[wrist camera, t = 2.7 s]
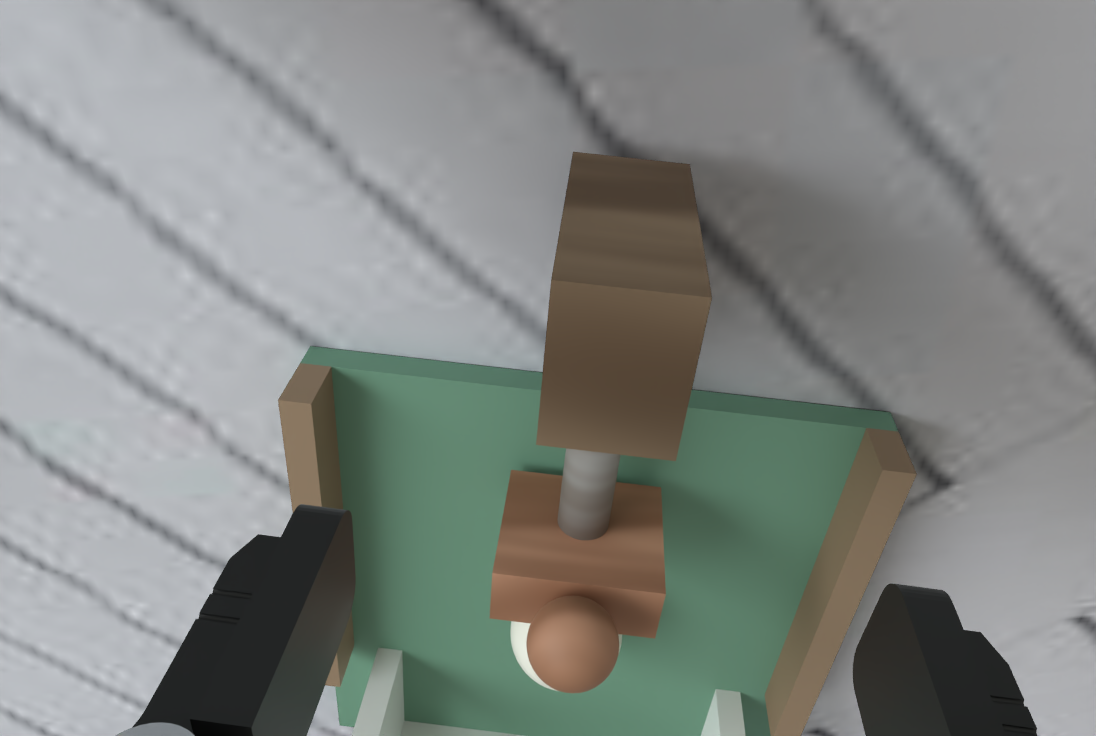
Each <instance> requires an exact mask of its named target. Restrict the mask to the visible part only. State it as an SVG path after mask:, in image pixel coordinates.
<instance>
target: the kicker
mask: <svg viewBox="0 0 1096 736" xmlns="http://www.w3.org/2000/svg"><path fill="white" fill-rule="evenodd" d="M711 300H712V295H711V289H710V283H709V277H708V271H707V265H706V259H705V253H704V247H703V241H702V235H701V229H700V223H699V217H698V211H697V204H696V198H695V192H694V186H693V180H692V174H691V168H690V164H682V163H673V162H664V161H654V160H645V159H636V158H627V157H617V156H608V155H599V154H589V153H580V152H573V156H572V162H571V168H570V174H569V180H568V185H567V191H566V197H565V203H564V209H563V215H562V221H561V226H560V232H559V238H558V244H557V250H556V256H555V261H554V267H553V273H552V279H551V289H550V300H549V310H548V321H547V332H546V343H545V353H544V364H543V375H542V386H541V396H540V407H539V418H538V429H537V439H536V445H541V446H549V447H558V448H566V452H565V460H564V469H563V476H561V475H552V474H543V473H535V472H526V471H518V470H511V473H510V479H509V484H508V490H507V495H506V501H505V506H504V512H503V517H502V523H501V528H500V534H499V539H498V545H497V550H496V555H495V561H494V566H493V572H492V586H491V602H490V619H498V620H506V621H514V622H523V623H531V624H530V627H529V629H528V634H527V642H526V647H527V654H528V658H529V662H530V664H531V666H532V668H533V670H534V672H535V673H536V674H537V676H538V677H539V678H540V679H541V680H542V681H543V682H544V683H545V684H547V685H548V686H550V687H551V688H553V689H555V690H557V691H560V692H565V693H582V692H586V691H589V690H591V689H593V688H595V687H597V686H598V685H600V684H601V683H602V682H603V681H605V679H606V678H607V677H608V676H609V675H610V673H611V672H612V670H613V668H614V666H615V664H616V661H617V658H618V654H619V636H618V634H621V635H630V636H638V637H646V638H654V639H655V637H656V633H657V629H658V624H659V620H660V616H661V612H662V608H663V604H664V600H665V595H666V587H665V564H664V541H663V518H662V496H661V487H655V486H646V485H637V484H629V483H620V482H616V479H617V473H618V467H619V461H620V455H627V456H635V457H644V458H653V459H661V460H670V461H676V458H677V454H678V449H679V445H680V440H681V436H682V431H683V427H684V422H685V418H686V413H687V408H688V404H689V399H690V395H691V390H692V386H693V381H694V377H695V372H696V368H697V363H698V359H699V354H700V350H701V345H702V341H703V336H704V331H705V327H706V322H707V318H708V313H709V309H710V304H711Z"/></svg>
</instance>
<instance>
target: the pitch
mask: <svg viewBox="0 0 1096 736" xmlns="http://www.w3.org/2000/svg"><path fill="white" fill-rule="evenodd" d="M542 375H543V373H541V372H532V371H523V370H514V369H506V368H497V367H488V366H479V365H470V364H462V363H453V362H444V361H435V360H427V359H418V358H409V357H400V356H392V355H383V354H374V353H365V352H356V351H348V350H339V349H330V348H321V347H313V346H310V348H309V349H308V351H307V353H306V354H305V356H304V358H303V359H302V361H301V363H300V364H299V366H298V368H297V369H296V371H295V373H294V374H293V376H292V378H291V379H290V381H289V383H288V384H287V386H286V388H285V389H284V391H283V393H282V394H281V396H280V398H279V399H278V403H279V411H280V418H281V426H282V434H283V441H284V449H285V456H286V464H287V472H288V479H289V487H290V495H291V502H292V510H293V513H294V511H295V509H296V508H297V507H298V506H299V505H300V504H305V505H312V506H320V507H327V508H335V509H343V510H349V511H350V512H351V515H352V523H353V540H354V558H355V575H356V584H355V594H354V600H353V605H352V610H351V614H350V617H349V620H348V623H347V626H346V629H345V632H344V634H343V637H342V640H341V642H340V645H339V648H338V651H337V653H336V656H335V659H334V662H333V664H332V667H331V670H330V673H329V675H328V678H327V681H326V684H325V685H328V686H336V696H337V705H338V714H339V723H340V725H342V726H350V727H354V730H353V733H352V736H801V734H802V732H803V729H804V727H805V725H806V723H807V720H808V718H809V716H810V714H811V711H812V709H813V707H814V705H815V702H816V700H817V698H818V696H819V693H820V691H821V689H822V686H823V684H824V682H825V680H826V677H827V675H828V673H829V671H830V668H831V666H832V664H833V662H834V659H835V657H836V655H837V653H838V650H839V648H840V646H841V644H842V641H843V639H844V637H845V635H846V632H847V630H848V628H849V626H850V623H851V621H852V619H853V617H854V614H855V612H856V610H857V608H858V605H859V603H860V601H861V599H862V596H863V594H864V592H865V590H866V587H867V585H868V583H869V581H870V578H871V576H872V574H873V572H874V569H875V567H876V565H877V563H878V560H879V558H880V556H881V553H882V551H883V549H884V547H885V544H886V542H887V540H888V538H889V535H890V533H891V531H892V529H893V526H894V524H895V522H896V520H897V517H898V515H899V513H900V511H901V508H902V506H903V504H904V502H905V499H906V497H907V495H908V493H909V490H910V488H911V486H912V484H913V481H914V479H915V477H916V475H917V473H916V471H915V469H914V467H913V464H912V462H911V460H910V457H909V455H908V453H907V450H906V448H905V446H904V443H903V441H902V439H901V436H900V434H899V432H898V429H897V427H896V425H895V422H894V420H893V418H892V415H891V413H890V412H883V411H874V410H865V409H856V408H847V407H839V406H830V405H821V404H812V403H804V402H795V401H786V400H777V399H769V398H760V397H751V396H742V395H733V394H725V393H716V392H707V391H698V390H691V395H690V399H689V404H688V408H687V413H686V418H685V422H684V427H683V431H682V436H681V440H680V445H679V449H678V454H677V458H676V461H670V460H661V459H653V458H644V457H635V456H627V455H620V461H619V467H618V473H617V479H616V482H620V483H629V484H637V485H646V486H655V487H661V496H662V518H663V541H664V564H665V587H666V595H665V600H664V604H663V608H662V612H661V616H660V620H659V624H658V629H657V633H656V637H655V639H654V638H646V637H638V636H630V635H622V644H621V648H620V652H619V655H618V658H617V661H616V664H615V666H614V668H613V670H612V672H611V673H610V675H609V676H608V677H607V678H606V679H605V681H603V682H602V683H601V684H600V685H598V686H597V687H595V688H593V689H591V690H589V691H586V692H582V693H565V692H560V691H555V690H551V689H548V688H546V687H543V686H542V685H540V684H538V683H537V682H535V681H534V680H532V679H531V678H530V677H529V676H528V675H527V674H526V673H525V672H524V671H523V669H522V668H521V666H520V665H519V663H518V661H517V659H516V657H515V655H514V652H513V648H512V644H511V636H510V630H511V621H506V620H498V619H490V602H491V586H492V572H493V566H494V561H495V555H496V550H497V545H498V539H499V534H500V528H501V523H502V517H503V512H504V506H505V501H506V495H507V490H508V484H509V479H510V473H511V470H518V471H526V472H535V473H543V474H552V475H561V476H563V469H564V460H565V452H566V448H558V447H549V446H541V445H536V439H537V429H538V418H539V407H540V396H541V386H542Z"/></svg>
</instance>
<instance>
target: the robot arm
mask: <svg viewBox="0 0 1096 736" xmlns="http://www.w3.org/2000/svg"><path fill="white" fill-rule="evenodd" d="M355 584H356V575H355V558H354V540H353V523H352V515H351V512H350V511H349V510H343V509H335V508H327V507H320V506H312V505H305V504H300V505H299V506H298V507H297V508H296V509H295V511H294V513H293V514H292V516H291V518H290V520H289V522H288V524H287V526H286V528H285V530H284V532H283V534H282V536H281V537H274V536H266V535H259V534H258V535H257V536H256V537H255V538H253V539H252V540H251V541H250V542H249V543H248V544H246V545H245V546H244V547H243V548H242V549H241V550H239V551H238V552H237V553H236V554H235V555H233V556H232V557H231V558H230V559H229V561H228V563H227V565H226V566H225V568H224V570H223V572H222V574H221V575H220V577H219V579H218V581H217V583H216V584H215V586H214V588H213V593H212V594H210V595H209V597H208V599H207V600H206V602H205V604H204V606H203V608H202V609H201V611H200V615H199V618H198V619H196V620H195V622H194V624H193V625H192V627H191V629H190V631H189V633H188V634H187V636H186V638H185V640H184V642H183V643H182V645H181V647H180V649H179V651H178V652H177V654H176V656H175V658H174V659H173V661H172V663H171V665H170V667H169V668H168V670H167V672H166V674H165V676H164V677H163V679H162V681H161V683H160V685H159V686H158V688H157V690H156V692H155V694H154V695H153V697H152V699H151V701H150V702H149V704H148V706H147V708H146V710H145V711H144V713H143V714H142V716H141V717H140V719H139V720H138V721H137V722H136V724H135V725H134V726H133V727H132V728H130V729H128V730H126V731H124V732H121V733H119V734H118V735H116V736H307V733H308V730H309V727H310V725H311V722H312V719H313V716H314V714H315V711H316V708H317V705H318V703H319V700H320V697H321V694H322V692H323V689H324V686H325V684H326V681H327V678H328V675H329V673H330V670H331V667H332V664H333V662H334V659H335V656H336V653H337V651H338V648H339V645H340V642H341V640H342V637H343V634H344V632H345V629H346V626H347V623H348V620H349V617H350V614H351V610H352V605H353V600H354V594H355ZM853 683H854V690H855V694H856V698H857V702H858V706H859V710H860V714H861V718H862V722H863V726H864V730H865V734H866V736H1037V734H1036V730H1037V728H1036V725H1035V723H1034V721H1033V719H1032V716H1031V714H1030V712H1029V710H1028V707H1025V706H1024V703H1023V702H1024V698H1023V696H1022V694H1021V692H1020V689H1019V687H1018V685H1017V683H1016V680H1015V678H1014V676H1013V674H1012V671H1011V669H1010V667H1009V665H1008V663H1007V662H1006V661H1005V660H1004V659H1003V658H1002V657H1001V655H1000V654H999V653H998V652H997V651H996V650H995V648H994V647H993V646H992V645H991V644H990V643H989V641H988V640H987V639H986V638H985V637H984V636H983V635H982V633H981V632H975V631H967V630H963V627H962V625H961V622H960V620H959V617H958V615H957V612H956V610H955V608H954V605H953V603H952V601H951V598H950V597H949V595H948V594H947V593H946V592H945V591H943V590H937V589H929V588H922V587H914V586H907V585H899V584H889V585H887V586H886V587H885V588H884V590H883V592H882V594H881V596H880V598H879V601H878V603H877V605H876V607H875V609H874V611H873V613H872V616H871V618H870V620H869V622H868V624H867V626H866V629H865V631H864V633H863V635H862V637H861V639H860V641H859V644H858V646H857V648H856V652H855V656H854V663H853Z"/></svg>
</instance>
